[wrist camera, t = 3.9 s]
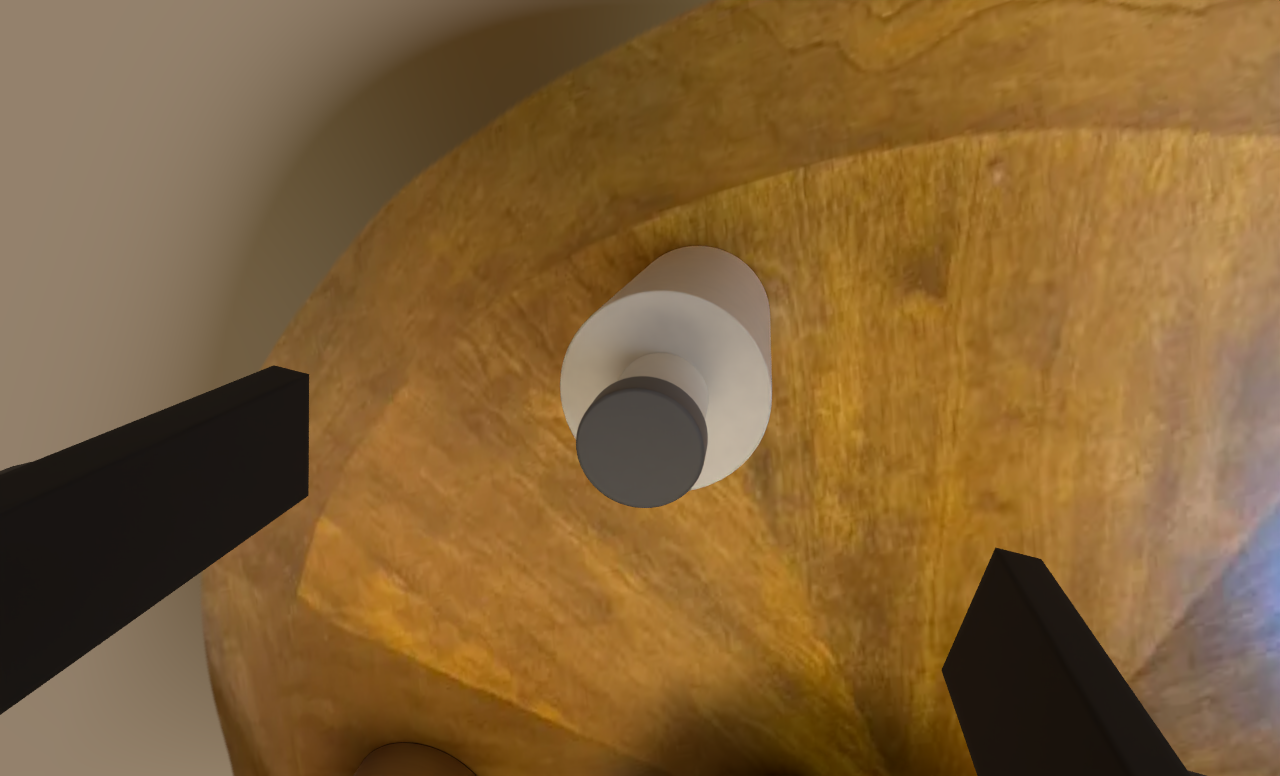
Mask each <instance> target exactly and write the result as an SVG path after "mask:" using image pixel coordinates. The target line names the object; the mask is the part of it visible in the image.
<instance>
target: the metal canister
mask: <svg viewBox="0 0 1280 776" xmlns="http://www.w3.org/2000/svg"><path fill="white" fill-rule="evenodd" d="M353 776H475V775H474V774H473V772H472V771H470V770H469V769H468V768H467V767H466V766H465V765H463V764H462V763H461V762H459V761H458V760H456V759H455V758H453V757H451V756H450V755H448V754H446V753H444V752H442V751H440V750H437V749H434V748H431V747H428V746H424V745H420V744H414V743H394V744H389V745H385V746H382V747H380V748H378V749H376V750H374V751H373V752H371V753H370V754H369V755H368V756H367V757H366V758H365V759H364V761H363V762H362V764H361V765H360V767H359V768H358V770H357V771H356V772H355V774H354V775H353Z"/></svg>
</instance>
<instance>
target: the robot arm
mask: <svg viewBox="0 0 1280 776" xmlns="http://www.w3.org/2000/svg"><path fill="white" fill-rule="evenodd" d="M308 477H309V374H306V373H302V372H298V371H294V370H290V369H286V368H282V367H278V366H271V367H269V368H266V369H264V370H261V371H259V372H256V373H254V374H251V375H249V376H246V377H244V378H241V379H239V380H236V381H234V382H231V383H229V384H226V385H224V386H221V387H219V388H217V389H214V390H211V391H209V392H206V393H204V394H201V395H199V396H196V397H194V398H192V399H189V400H186V401H184V402H181V403H179V404H176V405H174V406H171V407H169V408H167V409H164V410H161V411H159V412H156V413H154V414H151V415H149V416H147V417H144V418H141V419H139V420H136V421H134V422H131V423H129V424H126V425H124V426H122V427H119V428H116V429H114V430H111V431H109V432H106V433H104V434H101V435H99V436H96V437H94V438H91V439H89V440H86V441H84V442H81V443H79V444H76V445H74V446H71V447H69V448H66V449H64V450H61V451H59V452H57V453H54V454H51V455H49V456H46V457H44V458H41V459H39V460H36V461H34V462H29V463H25V464H21V465H17V466H13V467H10V468H7V469H5V470H2V471H0V715H1V714H2V713H3V712H5V711H6V710H8V709H9V708H10V707H12V706H13V705H15V704H16V703H18V702H19V701H20V700H22V699H23V698H25V697H26V696H27V695H29V694H30V693H32V692H33V691H34V690H36V689H37V688H39V687H40V686H41V685H43V684H44V683H46V682H47V681H48V680H50V679H51V678H53V677H54V676H55V675H57V674H58V673H60V672H61V671H63V670H64V669H65V668H67V667H68V666H69V665H71V664H72V663H74V662H75V661H77V660H78V659H79V658H81V657H82V656H84V655H85V654H86V653H88V652H89V651H90V650H92V649H93V648H95V647H96V646H97V645H99V644H100V643H102V642H103V641H105V640H106V639H107V638H109V637H110V636H112V635H113V634H114V633H116V632H117V631H119V630H120V629H122V628H123V627H124V626H126V625H127V624H128V623H130V622H131V621H133V620H134V619H136V618H137V617H138V616H140V615H141V614H143V613H144V612H145V611H147V610H148V609H150V608H151V607H152V606H154V605H155V604H156V603H158V602H159V601H161V600H162V599H164V598H165V597H166V596H168V595H169V594H171V593H172V592H173V591H175V590H176V589H178V588H179V587H180V586H182V585H183V584H185V583H186V582H188V581H189V580H190V579H192V578H193V577H194V576H196V575H197V574H199V573H200V572H202V571H203V570H204V569H206V568H207V567H209V566H210V565H211V564H213V563H214V562H216V561H217V560H218V559H220V558H221V557H223V556H224V555H225V554H227V553H228V552H230V551H231V550H233V549H234V548H235V547H237V546H238V545H240V544H241V543H242V542H244V541H245V540H247V539H248V538H249V537H251V536H252V535H254V534H255V533H256V532H258V531H259V530H261V529H262V528H263V527H265V526H266V525H268V524H269V523H270V522H272V521H273V520H275V519H276V518H277V517H279V516H280V515H282V514H283V513H284V512H286V511H287V510H289V509H290V508H292V507H293V506H294V505H296V504H297V503H299V502H300V501H301V500H303V499H304V498H306V497H307V496H308ZM942 673H943V676H944V679H945V682H946V684H947V687H948V690H949V693H950V696H951V699H952V702H953V705H954V708H955V711H956V714H957V717H958V720H959V723H960V725H961V728H962V731H963V734H964V737H965V740H966V743H967V746H968V749H969V752H970V755H971V758H972V761H973V764H974V767H975V769H976V772H977V775H978V776H1206V775H1202V774H1199V773H1195V772H1191V771H1188V770H1187V769H1186V768H1185V766H1184V765H1183V763H1182V762H1181V761H1180V759H1179V758H1178V756H1177V755H1176V753H1175V752H1174V750H1173V749H1172V748H1171V746H1170V745H1169V743H1168V742H1167V740H1166V739H1165V737H1164V736H1163V735H1162V733H1161V732H1160V730H1159V729H1158V727H1157V726H1156V724H1155V723H1154V722H1153V720H1152V719H1151V717H1150V716H1149V714H1148V713H1147V711H1146V710H1145V709H1144V707H1143V706H1142V704H1141V703H1140V701H1139V700H1138V698H1137V697H1136V696H1135V694H1134V693H1133V691H1132V690H1131V688H1130V687H1129V685H1128V684H1127V683H1126V681H1125V680H1124V678H1123V677H1122V675H1121V674H1120V672H1119V671H1118V669H1117V668H1116V667H1115V665H1114V664H1113V662H1112V661H1111V659H1110V658H1109V656H1108V655H1107V654H1106V652H1105V651H1104V649H1103V648H1102V646H1101V645H1100V643H1099V642H1098V641H1097V639H1096V638H1095V636H1094V635H1093V633H1092V632H1091V630H1090V629H1089V628H1088V626H1087V625H1086V623H1085V622H1084V620H1083V619H1082V617H1081V616H1080V615H1079V613H1078V612H1077V610H1076V609H1075V607H1074V606H1073V604H1072V603H1071V602H1070V600H1069V599H1068V597H1067V596H1066V594H1065V593H1064V591H1063V590H1062V589H1061V587H1060V586H1059V584H1058V583H1057V581H1056V580H1055V578H1054V577H1053V575H1052V574H1051V573H1050V571H1049V570H1048V568H1047V567H1046V565H1045V564H1044V562H1043V561H1042V560H1041V559H1039V558H1035V557H1031V556H1027V555H1023V554H1019V553H1015V552H1011V551H1007V550H1003V549H999V548H995V550H994V552H993V555H992V557H991V559H990V561H989V564H988V566H987V568H986V570H985V573H984V575H983V577H982V579H981V582H980V584H979V586H978V589H977V591H976V593H975V595H974V598H973V600H972V602H971V604H970V607H969V609H968V611H967V614H966V616H965V618H964V620H963V623H962V625H961V627H960V629H959V632H958V634H957V636H956V638H955V641H954V643H953V645H952V648H951V650H950V652H949V654H948V657H947V659H946V661H945V663H944V666H943V668H942Z"/></svg>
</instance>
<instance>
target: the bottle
mask: <svg viewBox="0 0 1280 776" xmlns="http://www.w3.org/2000/svg"><path fill="white" fill-rule="evenodd" d="M560 391H561V401H562V406H563V411H564V414H565V417H566V420H567V423H568V425H569V427H570V429H571V431H572V434H573V435H574V437H575V439H576V450H577V455H578V459H579V462H580V465H581V467H582V469H583V471H584V473H585V475H586V476H587V478H588V479H589V481H590V482H591V483H592V484H593V485H594V486H595V487H596V488H597V489H598V490H599V491H600V492H601V493H603V494H604V495H605V496H607V497H608V498H610V499H612V500H614V501H616V502H618V503H621V504H624V505H627V506H632V507H638V508H653V507H659V506H663V505H666V504H669V503H671V502H673V501H675V500H677V499H679V498H680V497H682V496H683V495H684V494H686V493H687V492H688V491H689V490H694V489H698V488H701V487H705V486H708V485H710V484H713V483H715V482H717V481H719V480H721V479H723V478H725V477H726V476H728V475H730V474H731V473H732V472H734V471H735V470H736V469H737V468H739V467H740V466H741V465H742V464H743V463H744V462H745V461H746V460H747V459H748V458H749V457H750V456H751V454H752V453H753V452H754V450H755V449H756V447H757V446H758V444H759V442H760V441H761V439H762V437H763V435H764V433H765V430H766V427H767V424H768V421H769V416H770V411H771V403H772V375H771V332H770V308H769V302H768V298H767V295H766V292H765V289H764V287H763V285H762V283H761V282H760V280H759V278H758V277H757V276H756V274H755V273H754V271H753V270H752V269H751V268H750V267H749V266H748V265H747V264H745V263H744V262H743V261H742V260H740V259H739V258H737V257H736V256H734V255H732V254H731V253H728V252H726V251H724V250H721V249H717V248H714V247H707V246H689V247H683V248H679V249H675V250H673V251H670V252H668V253H666V254H664V255H662V256H660V257H659V258H657V259H656V260H655V261H653V262H652V263H651V264H650V265H649V266H647V267H646V268H645V269H644V270H643V271H642V272H641V273H639V274H638V275H637V276H636V277H635V278H634V279H633V280H631V281H630V282H629V283H628V284H627V285H626V286H625V287H623V288H622V289H621V290H620V291H619V292H618V293H617V294H615V295H614V296H613V297H612V298H611V299H610V300H609V301H607V302H606V303H605V304H604V305H603V306H602V307H601V308H599V309H598V310H597V311H596V312H595V313H594V314H593V315H591V316H590V318H589V319H588V320H587V321H586V322H585V323H584V324H583V325H582V326H581V327H580V329H579V330H578V331H577V333H576V334H575V336H574V337H573V339H572V341H571V343H570V345H569V347H568V349H567V352H566V355H565V357H564V361H563V365H562V370H561V380H560Z"/></svg>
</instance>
